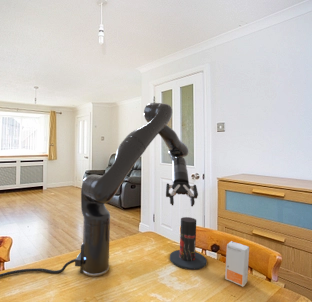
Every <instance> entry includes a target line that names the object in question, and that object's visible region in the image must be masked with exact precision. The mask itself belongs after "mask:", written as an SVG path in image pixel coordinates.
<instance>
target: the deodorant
mask: <svg viewBox="0 0 312 302" xmlns="http://www.w3.org/2000/svg"><path fill="white" fill-rule="evenodd" d="M179 232H180V234H179V250H180V258H181V259H182V260H184V261H194V260H195V252H196V245H197V244H196V243H197V240H196V239H197V219H196V218H194V217H189V216H188V217H187V216H184V217H183V216H182V217H181V218H180V230H179Z"/></svg>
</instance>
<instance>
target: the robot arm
mask: <svg viewBox="0 0 312 302" xmlns="http://www.w3.org/2000/svg"><path fill="white" fill-rule="evenodd" d="M172 116H173V108H172V106H171V105H169V104H167V103H164V102H162V103H161V102H149V103H147V104H146V105H145V107H144V109H143V117H144V119H145V121H146V122H147V123H146V124H144V125H143V126H140V127H138V128H136V129H134V130H132V131H131V132H129V133H128V135H126V137H125V138H123V140H122V141H121V142H120V144H119V145H118V147H117V149H116V154H115V158H114V162H113V163H112V164H111V166H110V167H109V168H108V170H107V171H106V172H104V174H103V175H101V174H100V175H99V174H90V175H88V176H86V177H85V178H84V179H83V182H82V184H81V188H80V209H81V215H82V217H83V220H82V221H83V224H82V225H83V227H82V243H81V245H80V252H79V254H78V255H77V257H76V258H73V259H71V260H69V261H67V262H66V263H64V265H63V266H62V268H61V269H58V270H53V269H47V268H41V267H38V268H24V269H23V268H22V269H15V270H10V271H6V272H3V273H0V278H3V277H6V276H10V275H15V274H20V273H34V272H43V273H47V274H52V275H53V274H56V275H57V274H61V273H62V272H64V271H65V270H66V268H67V267H68V266H69V265H71V264H73V263H74V267H78V268H79V269H80V270H79V273H80V274H83V275H85V276H87V277H101V276H103V275H105V274H107V273H108V272H109V270H110V241H111V240H110V238H111V237H110V233H111V213H110V211H109V210H108V208H107V206H106V205H105V204H108V203H109V202H111V200H112V199H113V198H114V197H115V195H116V194H117V193H118V191H119V189H120V187H121V185H122V183H123V182H124V180H125V179H126V177H127V175H128V174H129V173H130V172H131V170H132V168H133V167H134V166H135V164H136V163H137V162H138V161H139V159H140V158H141V157H142V155H144V153H145V152H146V150H147V148H148V147H149V146H150V144H151V143H152V142H153V141H154V139H155V138H156V137H157V136H158V135H159V136H160V138H161V139H162V140H163V141H164V144H165V145H166V147H167V148H168V150H167V153H168V156H169V158H170V161H171V166H172V171H171V177H172V184H170V183H166V186H165V198H169V204H170V205H171V206H174V204H175V202H174V201H175V200H174V197H175V196H176V195H186V196H187V197H188V198H189V200H190V201H189V202H190V207H192V208H193V207H194V206H195V201H196V200H195V199H198V196H199V192H198V188H197V185H196V184H193V185H190V181H189V173H188V168H187V160H186V159H185V157H187V156H188V154H189V148H188V146H187V145H186V144H185V142H183V141H182V140H180V138H179V136H178V134H177V132H176V131H175V130H174V129H173V128H171V126H169V125H168V124H169V123H170V121H171V119H172ZM171 189H172V191H171V192H170V190H171Z"/></svg>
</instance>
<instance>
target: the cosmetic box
mask: <svg viewBox="0 0 312 302" xmlns="http://www.w3.org/2000/svg"><path fill="white" fill-rule="evenodd" d="M249 257H250V246H248V245H245V244H242V243H240V242H239V243H238V242H235V241H232V240H231V241H229V242H228V243H227V244H226V253H225V275H224V279H225V280H226V281H228V282H231V283H234V284H235V285H238V286H240V287H243V288H244V287H245V285H246V284H247V283H248V280H249V279H248V278H249V277H248V275H249V259H250V258H249Z"/></svg>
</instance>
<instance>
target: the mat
mask: <svg viewBox="0 0 312 302" xmlns="http://www.w3.org/2000/svg"><path fill="white" fill-rule="evenodd" d="M207 260H208V259H207V258H206V257H205V255H204V254H201V253H200V252H197V251H195V260H194V261H184V260H182V259H181V258H180V249H177V250H173V251H172V252H171V253H170V255H169V261H170V262H171V263H172V264H173V265H174V266H176V267H178V268H181V269H184V270H189V271H196V270H197V271H198V270H201V269H204V268H205V267H206V266H207V264H208V261H207Z"/></svg>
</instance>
